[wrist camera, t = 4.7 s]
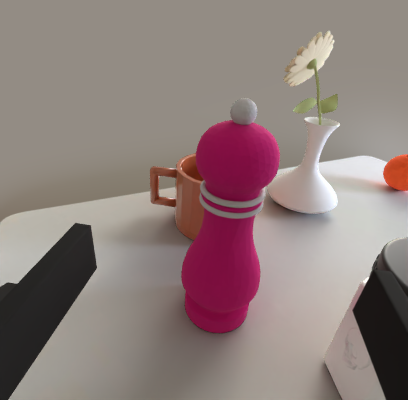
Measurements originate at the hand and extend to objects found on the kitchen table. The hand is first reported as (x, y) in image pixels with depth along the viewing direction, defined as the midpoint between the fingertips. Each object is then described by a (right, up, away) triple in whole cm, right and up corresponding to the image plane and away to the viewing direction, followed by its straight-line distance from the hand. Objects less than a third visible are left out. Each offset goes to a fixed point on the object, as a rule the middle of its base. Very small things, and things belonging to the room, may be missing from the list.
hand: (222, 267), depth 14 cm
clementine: (+38, +5, +43) cm, 58 cm away
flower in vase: (+15, +3, +35) cm, 38 cm away
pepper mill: (0, -8, +15) cm, 17 cm away
